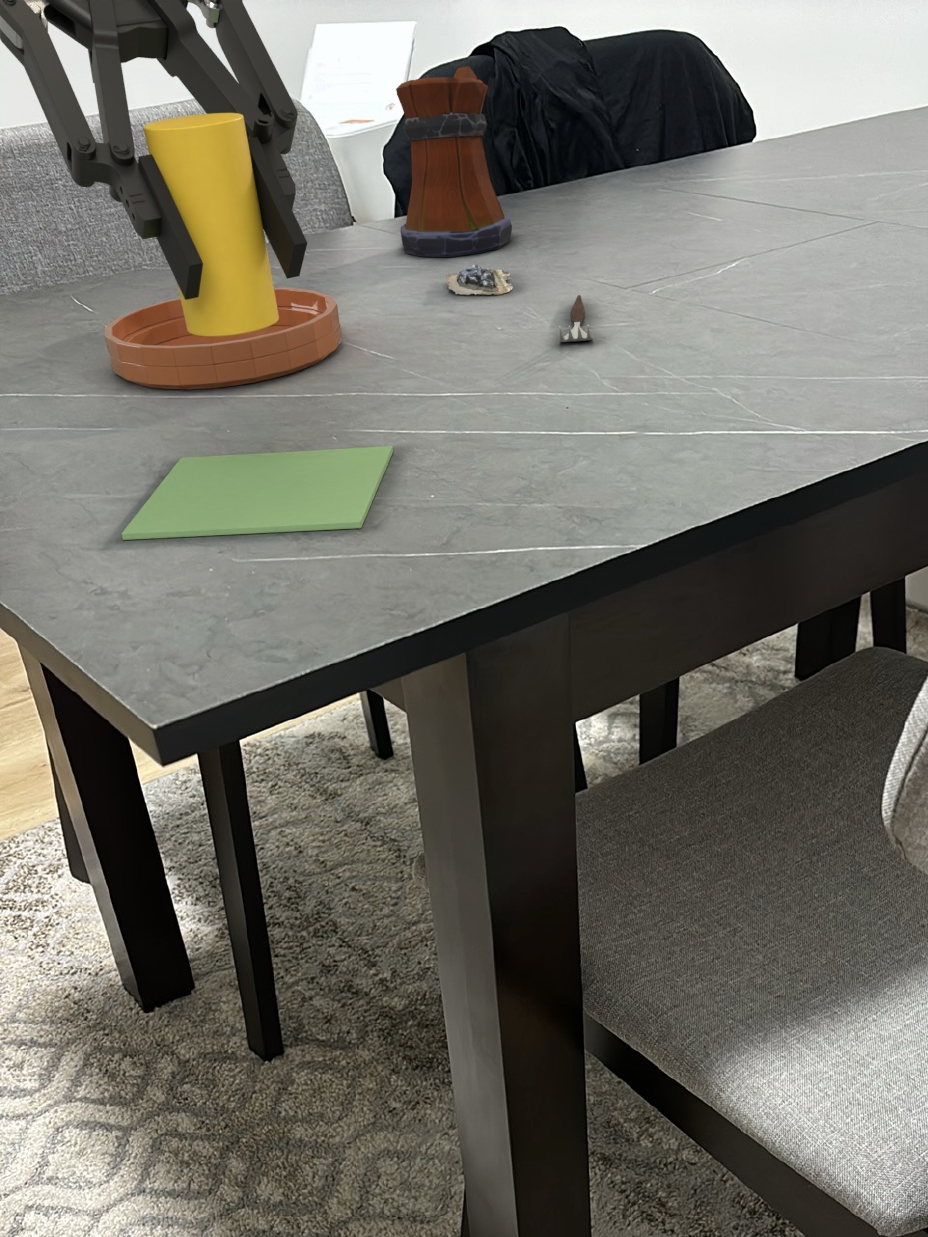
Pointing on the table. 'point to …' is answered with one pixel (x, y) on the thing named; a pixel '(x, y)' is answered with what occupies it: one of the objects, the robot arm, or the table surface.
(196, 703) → the table surface
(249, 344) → the pan
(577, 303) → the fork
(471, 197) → the brown rook tower
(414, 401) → the table surface
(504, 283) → the dark rock pile
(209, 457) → the green board
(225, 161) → the yellow cylinder
